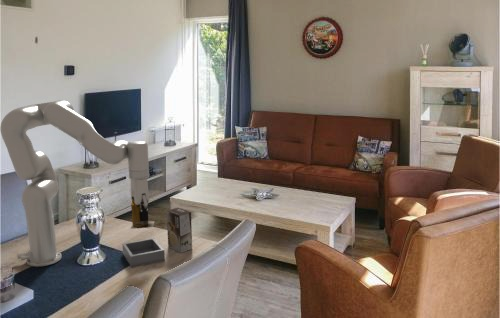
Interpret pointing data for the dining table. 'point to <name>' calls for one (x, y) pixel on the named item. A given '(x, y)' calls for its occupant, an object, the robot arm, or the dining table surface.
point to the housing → (143, 252)
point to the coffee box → (179, 229)
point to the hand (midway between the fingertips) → (141, 217)
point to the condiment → (138, 217)
